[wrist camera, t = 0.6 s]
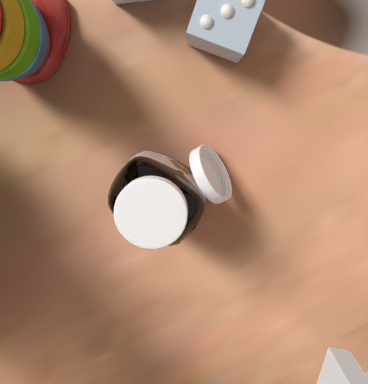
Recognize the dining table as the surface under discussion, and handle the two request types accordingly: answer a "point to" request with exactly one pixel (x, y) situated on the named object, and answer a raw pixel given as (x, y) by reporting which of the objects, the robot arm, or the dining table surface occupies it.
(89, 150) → the dining table surface
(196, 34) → the pip block three
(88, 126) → the dining table surface
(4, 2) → the stacking bear
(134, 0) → the pip block two
